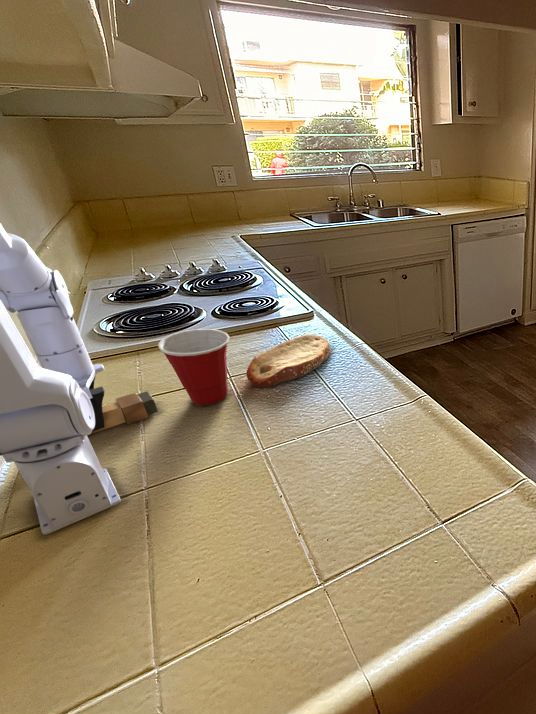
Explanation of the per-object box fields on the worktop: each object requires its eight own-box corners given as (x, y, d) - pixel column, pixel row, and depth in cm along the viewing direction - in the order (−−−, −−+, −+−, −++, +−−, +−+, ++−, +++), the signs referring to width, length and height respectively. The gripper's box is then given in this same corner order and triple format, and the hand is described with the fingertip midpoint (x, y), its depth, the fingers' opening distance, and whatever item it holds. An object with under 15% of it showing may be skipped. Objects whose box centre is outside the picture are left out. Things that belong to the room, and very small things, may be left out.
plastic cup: (230, 412, 81) (212, 350, 76) (165, 414, 81) (143, 352, 75) (252, 382, 91) (238, 325, 86) (195, 384, 90) (177, 327, 85)
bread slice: (324, 339, 110) (321, 325, 108) (345, 370, 96) (342, 353, 94) (241, 356, 102) (237, 340, 100) (251, 392, 88) (246, 374, 86)
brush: (67, 445, 73) (59, 428, 71) (63, 433, 75) (55, 417, 74) (159, 413, 81) (153, 398, 79) (152, 404, 84) (146, 389, 82)
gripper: (102, 353, 68) (132, 430, 74) (83, 327, 77) (112, 397, 83) (39, 369, 64) (77, 449, 70) (27, 340, 73) (62, 413, 79)
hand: (93, 422), depth 76 cm, fingers open, 5 cm apart
